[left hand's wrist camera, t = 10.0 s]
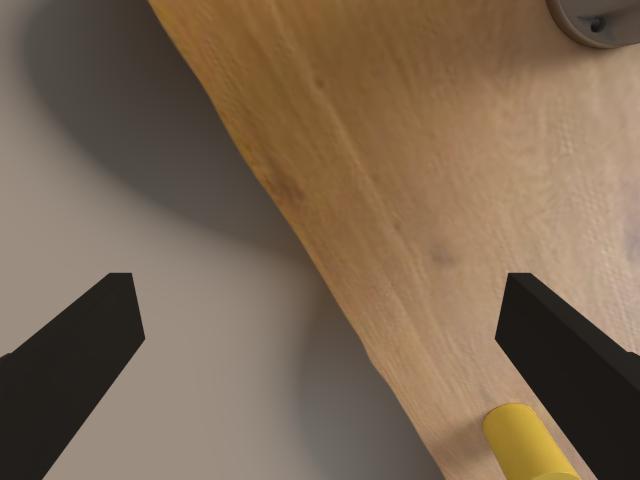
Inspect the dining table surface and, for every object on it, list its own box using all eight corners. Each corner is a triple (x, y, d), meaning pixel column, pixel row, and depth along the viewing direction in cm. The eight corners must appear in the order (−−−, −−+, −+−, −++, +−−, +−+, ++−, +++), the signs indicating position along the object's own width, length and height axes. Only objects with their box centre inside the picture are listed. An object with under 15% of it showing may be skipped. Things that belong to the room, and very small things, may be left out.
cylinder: (474, 438, 55) (507, 511, 46) (494, 399, 53) (534, 467, 43) (523, 446, 56) (566, 520, 46) (545, 407, 53) (596, 477, 43)
